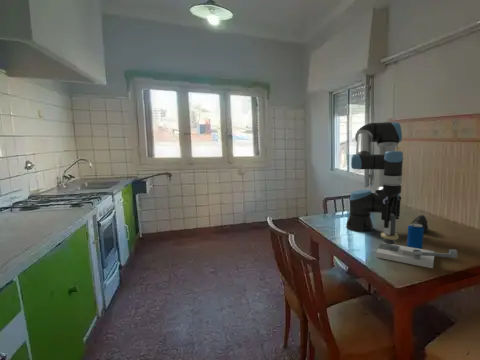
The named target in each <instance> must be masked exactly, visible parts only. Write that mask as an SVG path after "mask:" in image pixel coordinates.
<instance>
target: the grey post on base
mask: <svg viewBox="0 0 480 360" xmlns="http://www.w3.org/2000/svg"><path fill="white" fill-rule="evenodd" d="M390 221H391V229H390V235H387V234H384V231H383V232H380V238H382V239H384V240H383V243H386V244H394V245H396V244H395V243H396V242H395V241H396V240H398V239H400V238H399V237H400V236H399V234H398V233H395V226H396V227H397V221H396V216H394V214H391V216H390Z"/></svg>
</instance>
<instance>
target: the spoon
mask: <svg viewBox="0 0 480 360" xmlns="http://www.w3.org/2000/svg"><path fill="white" fill-rule="evenodd" d="M413 255H415V256H422V255H424V256H434V257H439V258H440V257H441V258H451V259H452V258H453V259H457V258H458V250H457V249H453V248H452V249H448V253H444V252H435V253H432V252H422V251H420V250H413Z"/></svg>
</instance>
